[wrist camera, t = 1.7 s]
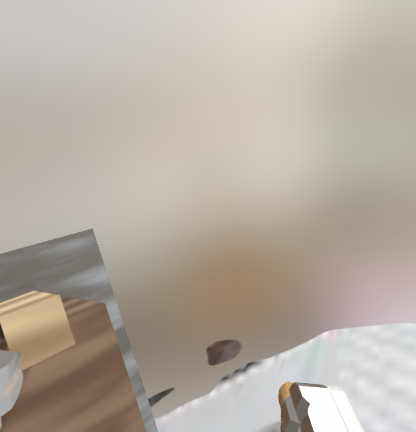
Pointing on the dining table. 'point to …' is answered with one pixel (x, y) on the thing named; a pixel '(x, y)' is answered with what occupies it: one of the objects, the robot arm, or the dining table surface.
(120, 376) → the brown tall block
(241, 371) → the dining table surface
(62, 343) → the light wooden bar
